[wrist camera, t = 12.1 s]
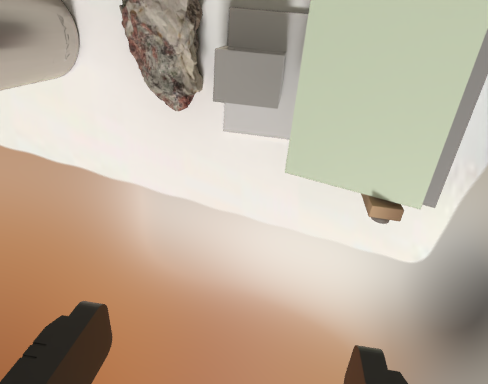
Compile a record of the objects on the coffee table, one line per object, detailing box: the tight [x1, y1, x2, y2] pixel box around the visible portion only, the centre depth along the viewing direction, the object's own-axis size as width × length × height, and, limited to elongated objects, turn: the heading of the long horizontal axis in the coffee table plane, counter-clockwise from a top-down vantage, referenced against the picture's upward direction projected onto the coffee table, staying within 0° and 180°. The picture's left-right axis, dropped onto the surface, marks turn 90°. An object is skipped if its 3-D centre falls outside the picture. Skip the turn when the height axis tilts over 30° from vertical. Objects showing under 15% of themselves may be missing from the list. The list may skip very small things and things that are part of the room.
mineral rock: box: [120, 0, 203, 111], centre depth 32 cm, size 15×8×4 cm, turn 177°
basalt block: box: [213, 46, 287, 109], centre depth 32 cm, size 4×4×6 cm
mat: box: [223, 7, 308, 140], centre depth 34 cm, size 13×12×1 cm
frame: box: [361, 193, 404, 224], centre depth 28 cm, size 8×18×12 cm, turn 176°
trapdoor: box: [285, 0, 488, 209], centre depth 26 cm, size 12×14×5 cm
